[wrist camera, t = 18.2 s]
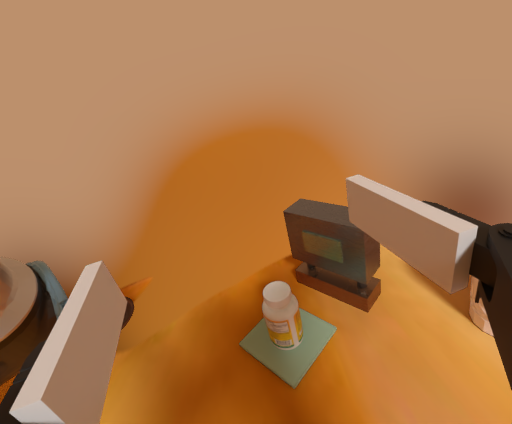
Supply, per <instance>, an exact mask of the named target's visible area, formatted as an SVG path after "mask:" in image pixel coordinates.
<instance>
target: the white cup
mask: <svg viewBox="0 0 512 424" xmlns="http://www.w3.org/2000/svg"><path fill="white" fill-rule="evenodd" d="M478 281H479V280H478V279H477V278H475V277H473V276H471V288H470V310H469V315H470V317H471V319H472V321H473V323H474V324H475V325H477V326H478V327H479V328H480V329H481V330H482V331H483V332H485V333H487V334H489V335H491V336H493V337H494V335H493V332H492V329H491V326H490V323H489V320H488V317H487V314H486V311H485V308H484V305H483V302H482V299H481V298H480V299H479V303H475V296H476V291H477V286H478Z"/></svg>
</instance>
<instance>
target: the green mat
mask: <svg viewBox="0 0 512 424" xmlns="http://www.w3.org/2000/svg"><path fill="white" fill-rule="evenodd" d="M299 311H300V316H301V321H302V326H303V332H304V335H303V339H302V342H301V343H300V344H299V345H298V346H297V347H296V348H294V349H291V350H281V349H278V348H277V347H275V346H274V345H273V343H272V342H271V339H270V336H269V332H268V329H267V325H266V322H265V318H263V319H262V320H261V321H260V322H259V323H258V324H257V325H256V326H255V327H254V328H253V329H252V330H251V331H250V332H249V333H248V334H247V336H246V337H245V338H244V339H243V340H242V341H241V342H240V343H239V345H240V346H241V347H242V348H243V349H244V350H246V351H247V352H248V353H250V354H251V355H252V356H253V357H255V358H256V359H257V360H258V361H260V362H261V363H262V364H263V365H265V366H266V367H267V368H268V369H270V370H271V371H272V372H273V373H275V374H276V375H277V376H279V377H280V378H281V379H282V380H284V381H285V382H286V383H287V384H289V385H290V386H291V387H292V388H294V389H295V388H296V386H297V385H298V384H299V382H300V381H301V379H302V378H303V376H304V375H305V374H306V372H307V371H308V369H309V368H310V367H311V365H312V364H313V362H314V361H315V359H316V358H317V357H318V355H319V354H320V352H321V351H322V350H323V348H324V347H325V345H326V344H327V342H328V341H329V340H330V338H331V337H332V335H333V334H334V333H335V331H336V330H337V329H336V327H335V326H333V325H331V324H329V323H327V322H326V321H324V320H322V319H320V318H318V317H316V316H314V315H312V314H310V313H308V312H306V311H304V310H302V309H301V308H299Z"/></svg>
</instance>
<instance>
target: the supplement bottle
mask: <svg viewBox="0 0 512 424" xmlns="http://www.w3.org/2000/svg"><path fill="white" fill-rule="evenodd" d="M263 297H264V301H263V304H262V311H263V315H264V318H265V322H266V325H267V329H268V332H269V336H270V339H271V342H272V343H273V345H274V346H275V347H277V348H278V349H281V350H291V349H294V348H296V347H297V346H298V345H299V344H300V343H301V342H302V339H303V335H304V332H303V326H302V321H301V316H300V311H299V305H298V301H297V299H296V297H295V296H294V295H293V294H292V293H291V289H290V286H289V285H288V284H287V283H285V282H282V281H274V282H271V283H269V284H268V285H267V286H265V288H264V290H263Z"/></svg>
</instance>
